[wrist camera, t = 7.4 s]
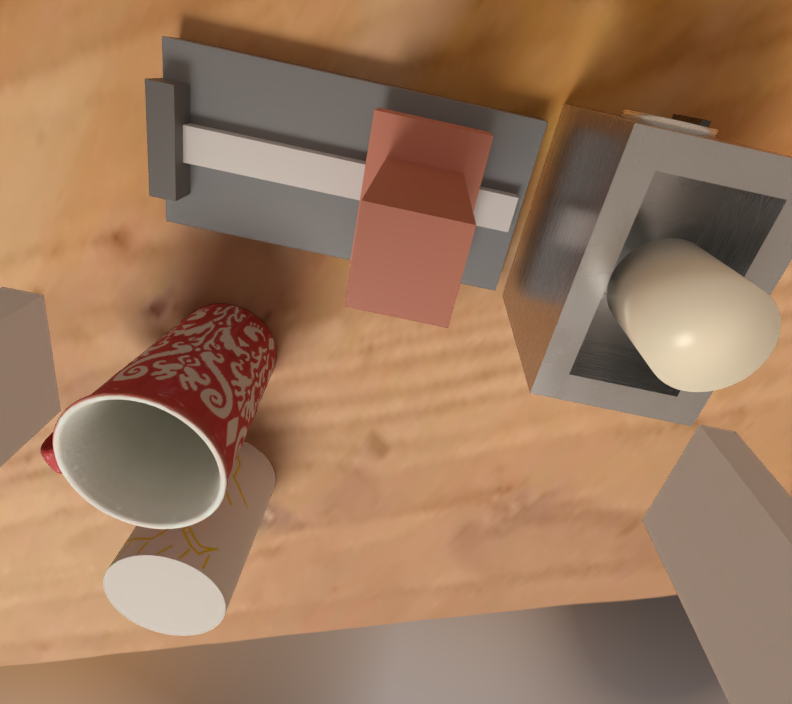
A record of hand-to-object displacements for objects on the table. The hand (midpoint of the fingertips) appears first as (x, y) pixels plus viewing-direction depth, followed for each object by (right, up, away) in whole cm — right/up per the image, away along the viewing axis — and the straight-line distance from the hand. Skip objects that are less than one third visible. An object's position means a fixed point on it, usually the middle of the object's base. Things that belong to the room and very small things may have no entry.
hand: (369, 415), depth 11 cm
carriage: (+2, +10, +18) cm, 21 cm away
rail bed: (-2, +13, +21) cm, 25 cm away
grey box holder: (+13, +9, +22) cm, 27 cm away
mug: (-13, +2, +28) cm, 31 cm away
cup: (-14, -9, +34) cm, 38 cm away
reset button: (+12, +4, +12) cm, 17 cm away
